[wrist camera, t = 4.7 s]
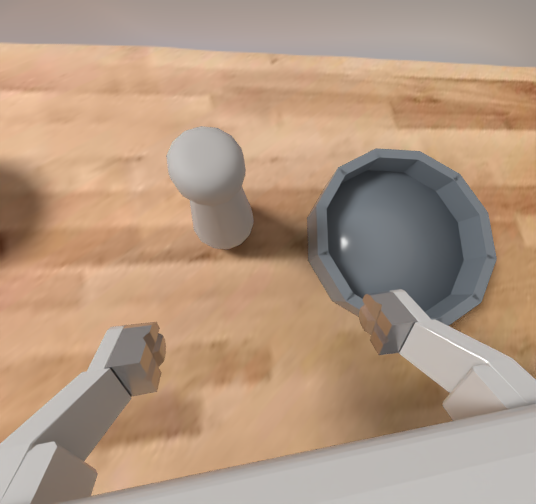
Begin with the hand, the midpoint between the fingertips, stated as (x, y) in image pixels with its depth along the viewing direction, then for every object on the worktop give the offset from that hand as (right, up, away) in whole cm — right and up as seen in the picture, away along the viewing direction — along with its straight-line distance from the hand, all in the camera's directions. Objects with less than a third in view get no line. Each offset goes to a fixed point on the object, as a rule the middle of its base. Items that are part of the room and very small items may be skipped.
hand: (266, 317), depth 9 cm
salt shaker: (-4, +5, +16) cm, 17 cm away
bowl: (+13, +4, +17) cm, 22 cm away
